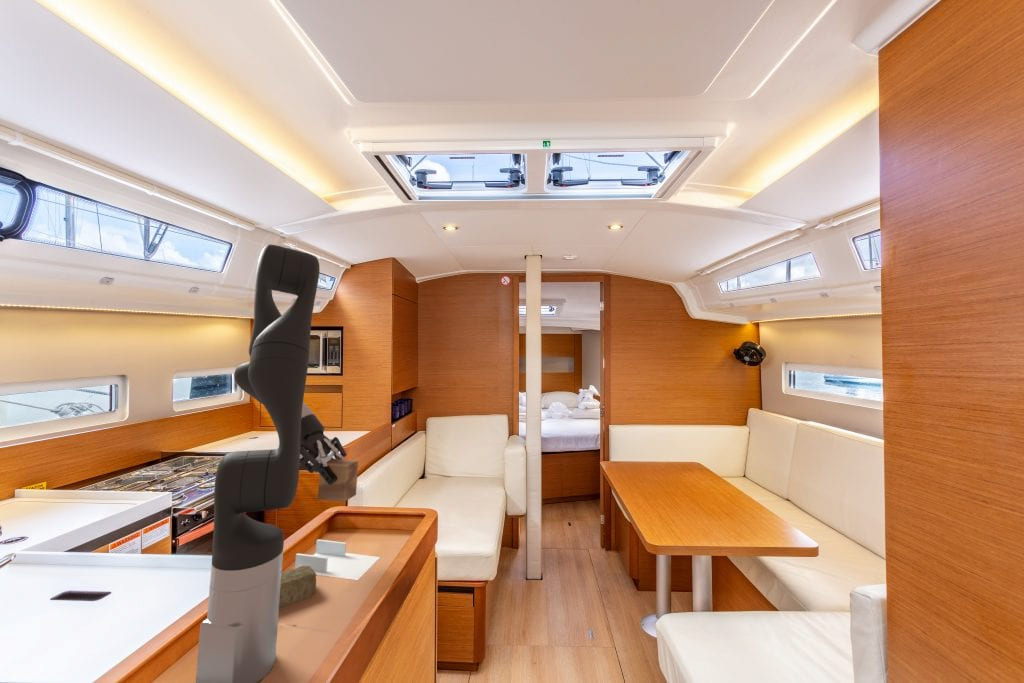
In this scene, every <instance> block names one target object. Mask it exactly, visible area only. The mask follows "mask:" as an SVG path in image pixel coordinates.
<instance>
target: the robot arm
mask: <svg viewBox="0 0 1024 683" xmlns="http://www.w3.org/2000/svg"><path fill="white" fill-rule="evenodd" d="M258 257H259V258H258V261H257V266H256V272H255V283H254V284H255V286H254V297H253V298H254V300H253V302H254V303H253V304H254V305H253V327H252V332H251V336H250V342H249V346H248V354H249V357H250V359H249V361H248V362H243V363H242V364H239V365H238V366H236V368H235V370H234V373H233V374H234V375H233V376H234V380H235V382H236V384H237V386H238V387H239V388H240V389H241V390H242V391H244V392H245V393H246V394H247V395H249V396H251V397H252V398H253V399H254V400H256V401H258V402H259V403H260V404H262V405H263V407H264V408H265V409H266V412H267V413H268V415H269V417H270V419H271V420H272V423H273V425H274V427H275V430H276V433H277V437H278V441H279V442H278V443H279V444H278V448H275V449H256V450H255V449H253V450H238V451H237V450H236V451H231V452H228V453H226V454H225V455H224V456H223V457H222V458H221V459H220V461H219V464H218V466H217V469H216V474H215V480H214V490H213V491H214V492H213V493H214V494H213V503H214V504H213V534H212V555H211V567H210V568H211V569H210V579H209V580H210V581H209V590H208V591H209V592H208V604H207V616H206V617H207V618H205V620H203V621H202V622H201V623H200V627H199V639H198V652H197V662H196V675H195V683H258V682H259V681H261V680H263V678H265V677H266V676H267V675H268V674H269V673H270V672H271V670H272V668H273V667H274V665H275V663H276V658H277V656H276V654H277V643H278V642H277V641H278V629H279V628H278V626H279V616H280V615H279V614H280V613H279V612H280V611H279V610H280V607H279V602H280V588H281V573H282V572H283V559H284V545H285V544H284V543H285V534H284V531H283V530H282V529H281V528H280V527H278V526H277V525H273V524H270V523H265V522H261V521H258V520H255V519H253V518H251V517H249V515H247V513H256V512H264V511H275V510H280V509H281V510H282V509H286V508H288V507H290V506H291V505H292V504H293V502H294V501H295V498H296V495H297V490H298V487H299V486H298V485H299V477H300V465H301V466H303V467H304V469H306V471H307V472H309V474H314V473H317V474H319V475H320V474H321V476H322V477H323V478H324V480H325V481H326V482H327V483H328V484H329V485H331V484H333V483H334V482H335V481H336V480H337V477H336V475H335V474H334V473H333V471H332V470H331V469H330V467H329V466H327V463H326V462H327V461H329V460H332V459H342V460H345V458H346V457H347V452H346V450H345V448H344V446H343V445H342V444H341V441H340V440H339V437H337V436H334V437H333V438H331V439H330V438H329V437H328V436H326V435H325V434H324V431H325V426H324V425H323V423H322V422H321V421H320V420H319V418H318V416H316V415H315V413H314V412H313V410H312V409H311V408H310V407H309V406H308V404H306V403H305V402H304V397H305V390H306V383H307V376H308V369H309V359H310V346H311V331H312V320H313V319H312V318H313V312H314V311H313V310H314V306H315V300H316V297H317V296H316V295H317V292H318V290H317V289H318V284H319V279H320V262H319V259H318V257H317V256H315V255H313V254H310V253H307V252H304V251H300V250H297V249H293V248H289V247H285V246H281V245H276V244H272V243H271V244H267V245H265V246H264V247H263V248H262V249H261V252H260V255H259V256H258ZM273 291H275V292H279V293H285V294H290V295H294V296H297V297H296V299H295V300H294V302H293V303H292V304H291V305H290V307H289V308H288V309H287V310H286V311H285V312H284V313H281V312H280V310H279V309H278V307H277V304H276V303H275V301H274V297H273ZM326 466H327V467H326Z"/></svg>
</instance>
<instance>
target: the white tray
mask: <svg viewBox="0 0 1024 683" xmlns="http://www.w3.org/2000/svg"><path fill="white" fill-rule="evenodd" d="M380 558H381V557H380V556H373V555H366V554H358V553H352V552H351V553H350V552H347V542H344V541H343V542H342V541H335V540H334V541H333V540H327V539H316V545H315V553H314V554H306V553H298V552H297V553H296V554H295V561H294V562H295V563H294V565H295V566H294V569H295V568H298V567H301V566H310V567H311V568H312V570H314V572H315V573H316V576H317V575H318V576H323V577H331V578H338V579H346V580H352V581H359V579H361V578H362V577H363V576H364V574H366V572H368V571H369V570H370V569H371V568H372V567H373V566H374V565H375V564H376V563H377V562H378V561H379V559H380Z"/></svg>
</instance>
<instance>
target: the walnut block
mask: <svg viewBox="0 0 1024 683" xmlns="http://www.w3.org/2000/svg"><path fill="white" fill-rule="evenodd" d="M326 463H327V466H329V467H330V469H331V470H332V471H333V473H334V474H335V475H336V477H337V480H336V481H335V482H334V483H333V484H331V485H329V484H328V483H327V482H326V481H325V480H324V478H323V477H322V476H321V474H320V473H319V476H318V477H319V478H318V491H317V492H318V493H317V500H321V501H330V502H339V503H345V502H346V501H348V500H350V499H351V498H353V497H355V496H357V483H358V469H359V467H358V466H359V461H358V460H352V459H351V460H350V459H343V460H342V459H335V458H334V459H332V460H329V461H326ZM327 466H326V467H327Z"/></svg>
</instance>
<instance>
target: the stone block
mask: <svg viewBox="0 0 1024 683" xmlns="http://www.w3.org/2000/svg"><path fill="white" fill-rule="evenodd" d="M316 586H317V575H316V573H315V572H314V570H312V568H311V567H310V566H301V567H298V568H295V567H294V568H290V569H288V570H284V571H282V573H281V588H280V602H279V608H282V607H286V606H288V605H291V604H294V603H296V602H299V601H302V600H304V599H308V598H310V597H312V596H313V595H315V590H316V588H317V587H316Z"/></svg>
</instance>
